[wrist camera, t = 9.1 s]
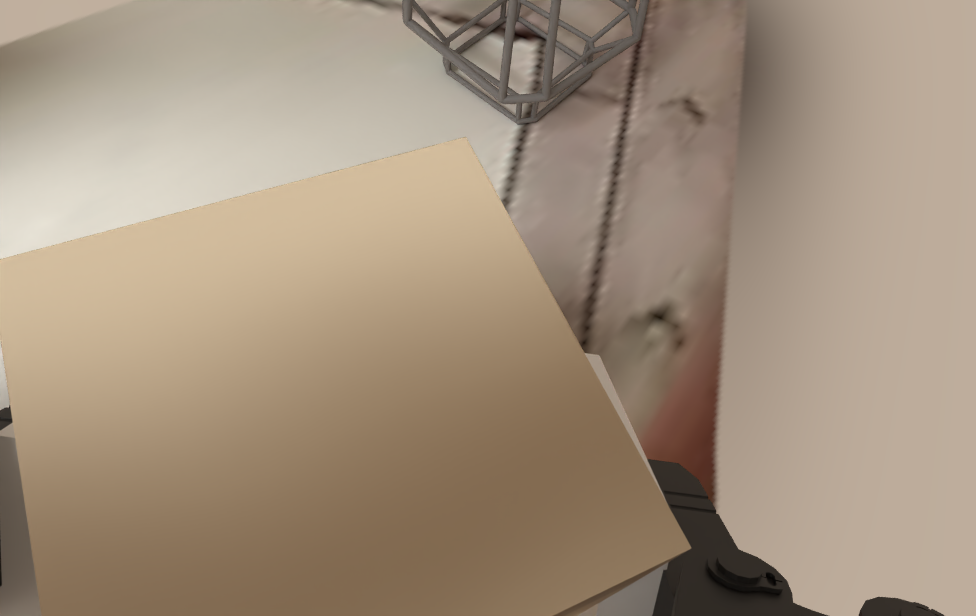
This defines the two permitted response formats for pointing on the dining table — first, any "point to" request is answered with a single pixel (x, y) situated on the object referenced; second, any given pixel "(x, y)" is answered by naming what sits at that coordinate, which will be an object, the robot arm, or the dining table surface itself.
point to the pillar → (319, 411)
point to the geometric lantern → (512, 17)
